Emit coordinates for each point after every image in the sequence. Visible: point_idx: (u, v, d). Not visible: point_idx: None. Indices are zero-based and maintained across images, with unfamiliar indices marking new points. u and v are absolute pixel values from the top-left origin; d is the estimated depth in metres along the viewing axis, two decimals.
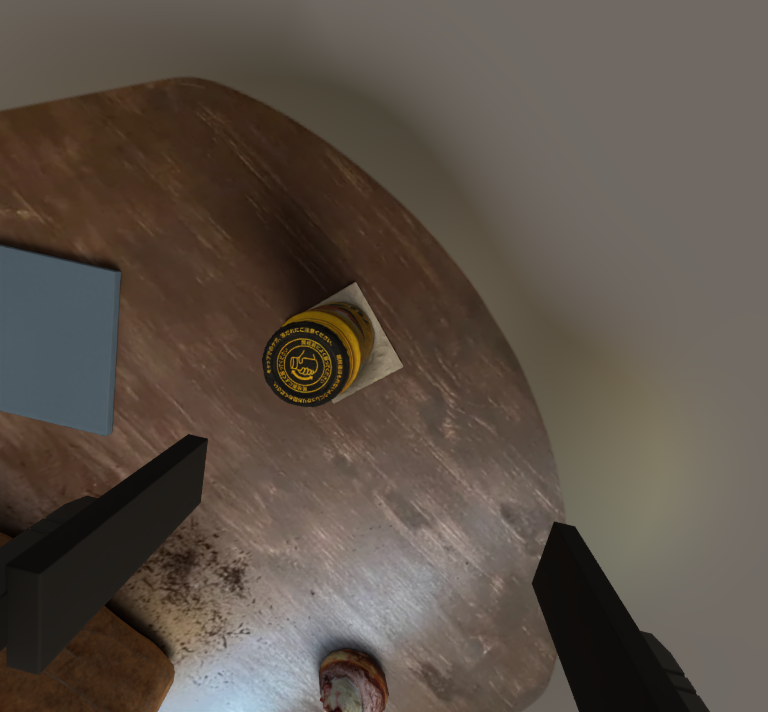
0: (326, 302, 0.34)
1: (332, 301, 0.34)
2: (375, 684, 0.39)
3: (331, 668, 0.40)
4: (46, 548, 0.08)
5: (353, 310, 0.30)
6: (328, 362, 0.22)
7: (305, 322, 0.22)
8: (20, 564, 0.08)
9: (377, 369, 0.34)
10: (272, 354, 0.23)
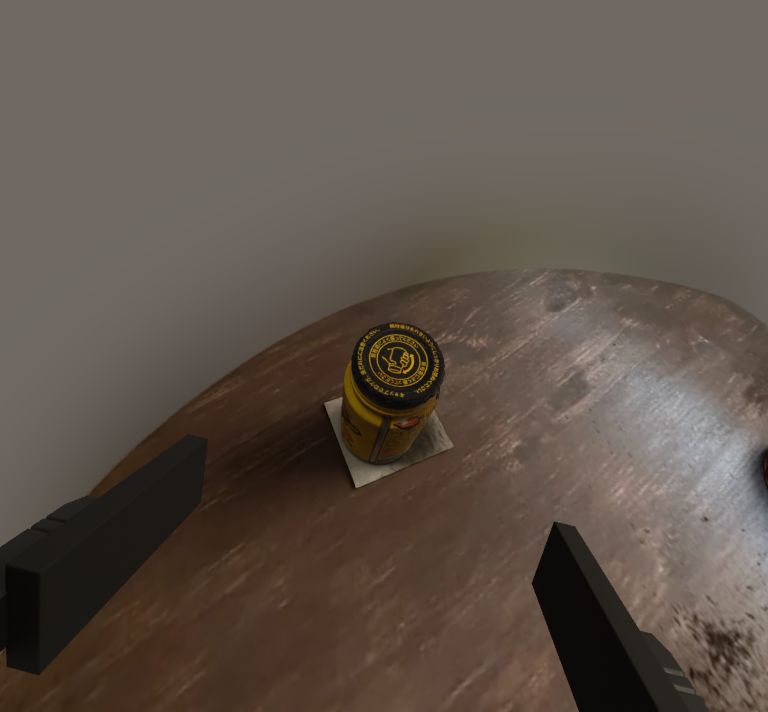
0: (340, 436, 0.31)
1: (339, 430, 0.31)
2: None
3: None
4: (46, 548, 0.08)
5: None
6: (396, 336, 0.22)
7: (353, 353, 0.21)
8: (20, 564, 0.08)
9: None
10: (383, 387, 0.20)
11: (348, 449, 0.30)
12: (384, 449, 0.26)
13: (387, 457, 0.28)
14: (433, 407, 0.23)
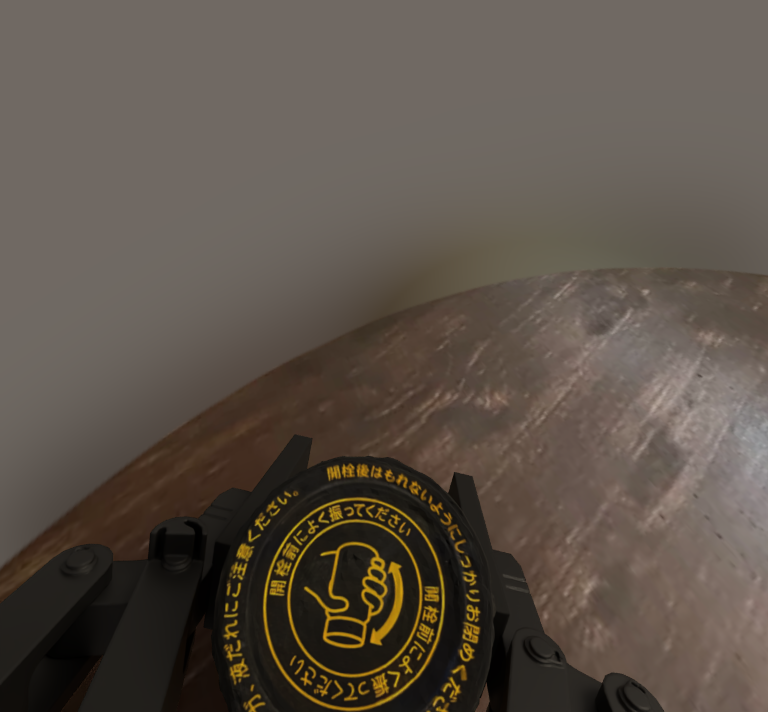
0: None
1: None
2: None
3: None
4: (237, 529, 0.10)
5: None
6: (348, 506, 0.08)
7: (219, 582, 0.07)
8: (225, 541, 0.10)
9: None
10: None
11: None
12: None
13: None
14: None
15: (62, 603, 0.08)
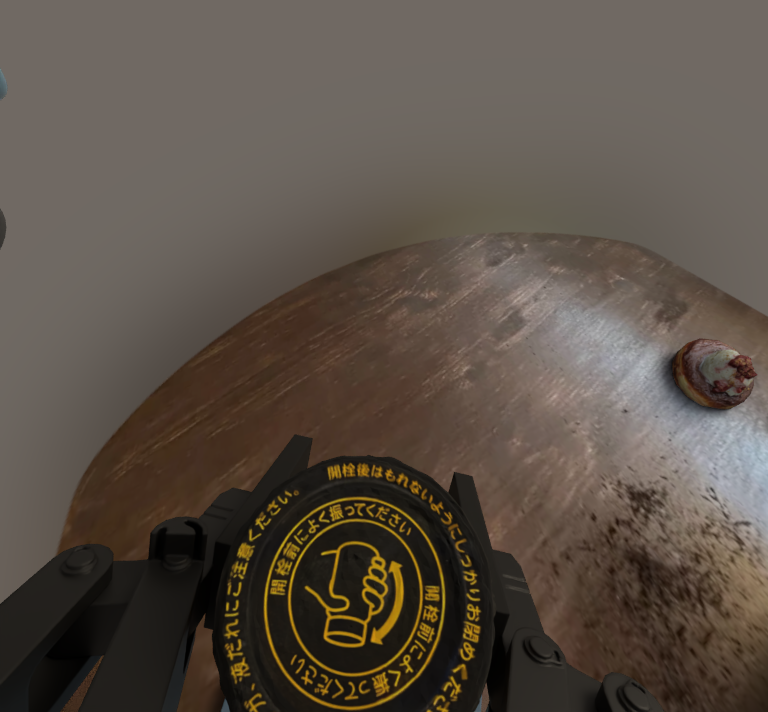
0: None
1: None
2: (692, 345, 0.40)
3: (700, 388, 0.39)
4: (237, 529, 0.10)
5: None
6: (348, 505, 0.08)
7: (220, 581, 0.07)
8: (226, 541, 0.10)
9: None
10: None
11: None
12: None
13: None
14: None
15: (62, 603, 0.08)
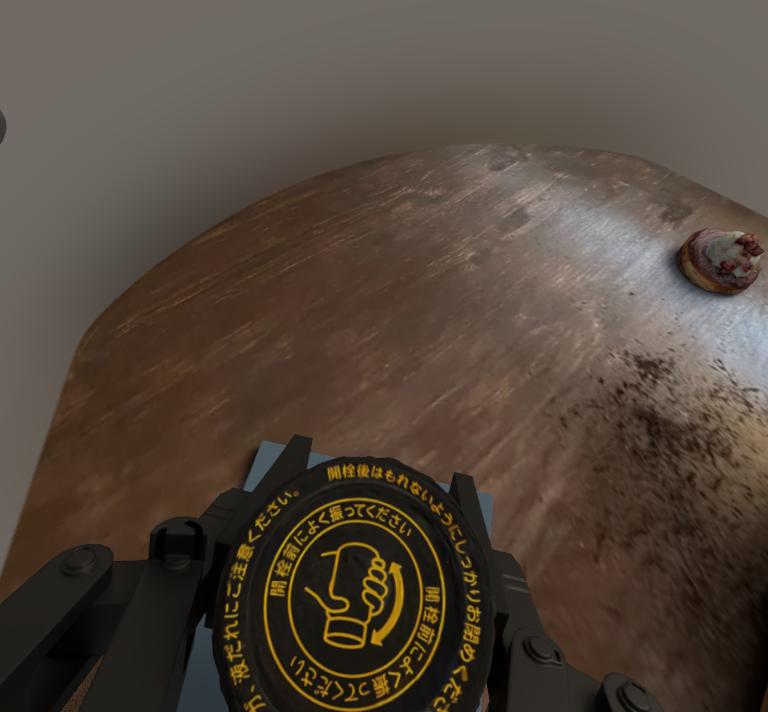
0: None
1: None
2: (698, 233, 0.40)
3: (706, 271, 0.38)
4: (237, 529, 0.10)
5: None
6: (348, 506, 0.08)
7: (219, 582, 0.07)
8: (226, 541, 0.10)
9: None
10: None
11: None
12: None
13: None
14: None
15: (62, 603, 0.08)
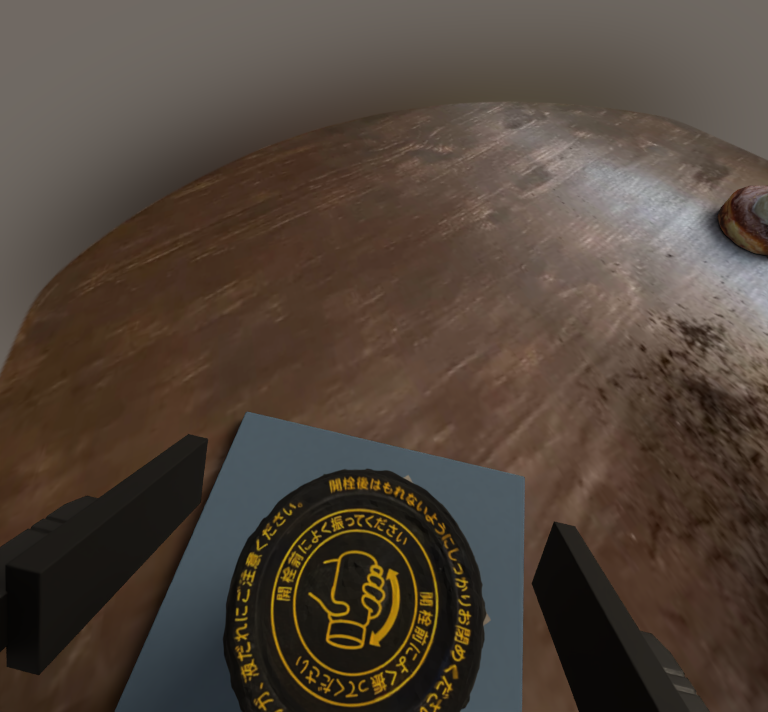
0: None
1: None
2: (741, 190, 0.36)
3: (754, 230, 0.34)
4: (46, 548, 0.08)
5: None
6: (349, 516, 0.08)
7: None
8: (20, 564, 0.08)
9: None
10: None
11: None
12: None
13: None
14: None
15: None
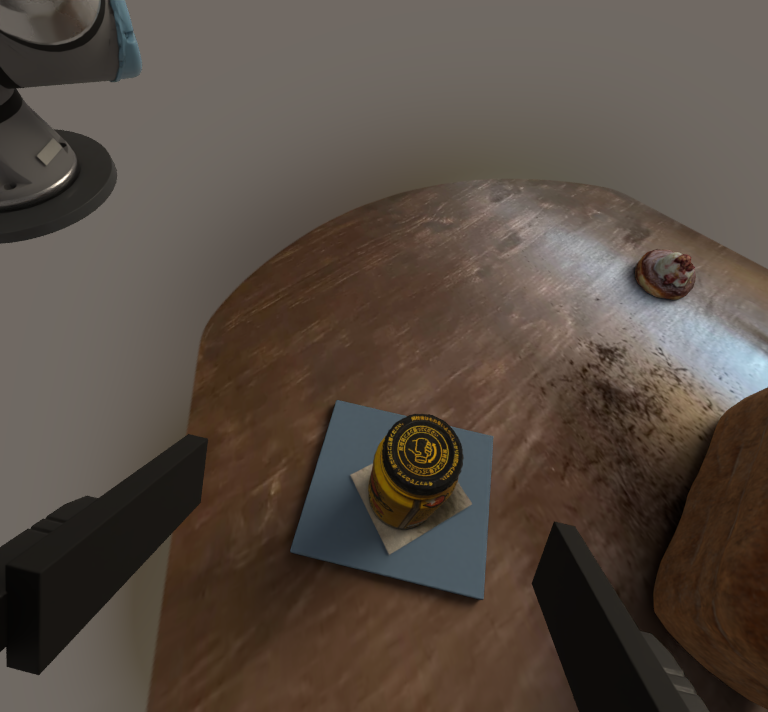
0: (368, 506, 0.34)
1: (367, 499, 0.34)
2: (649, 253, 0.53)
3: (654, 282, 0.51)
4: (46, 548, 0.08)
5: None
6: (418, 428, 0.25)
7: (383, 448, 0.25)
8: (20, 564, 0.08)
9: None
10: (413, 478, 0.23)
11: (377, 517, 0.33)
12: (413, 520, 0.29)
13: (415, 524, 0.31)
14: (455, 484, 0.26)
15: None
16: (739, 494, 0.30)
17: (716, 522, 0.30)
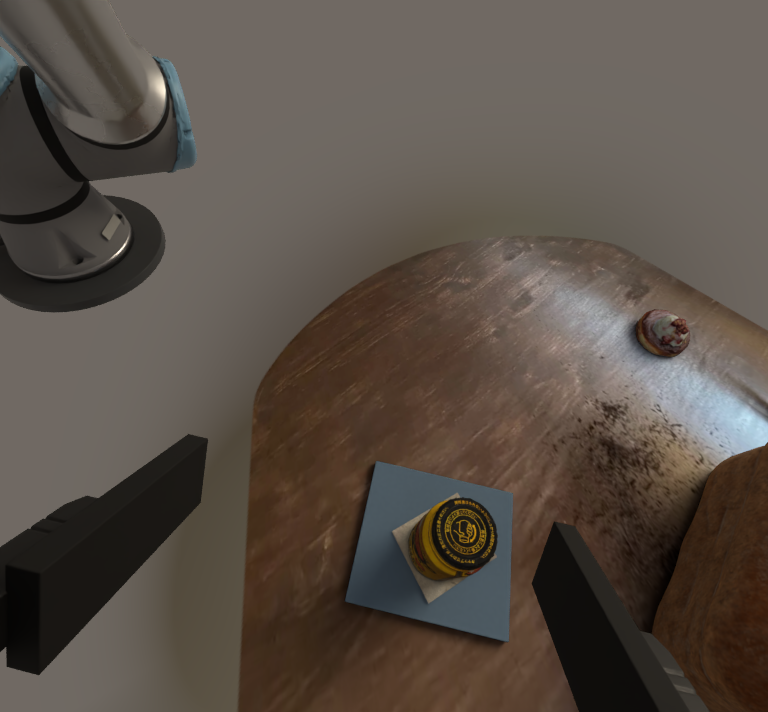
0: (408, 559, 0.39)
1: (407, 553, 0.40)
2: (648, 313, 0.58)
3: (653, 341, 0.57)
4: (46, 548, 0.08)
5: (416, 524, 0.38)
6: (460, 511, 0.31)
7: (432, 529, 0.30)
8: (20, 564, 0.08)
9: None
10: (459, 557, 0.29)
11: (417, 570, 0.39)
12: None
13: None
14: None
15: None
16: (723, 555, 0.36)
17: (704, 578, 0.36)
